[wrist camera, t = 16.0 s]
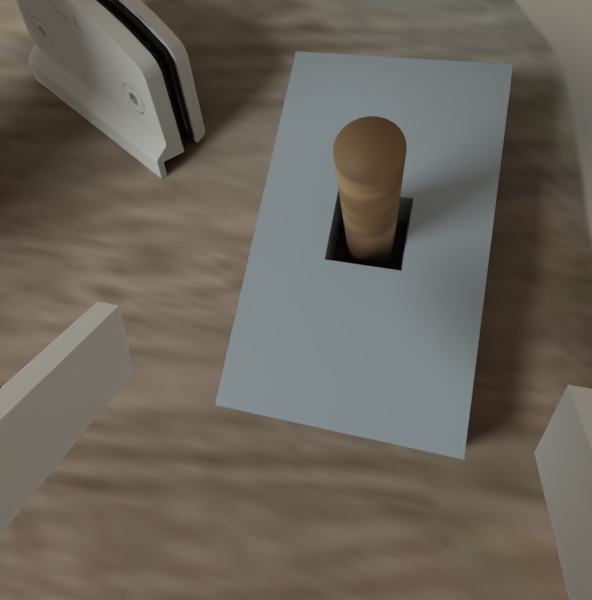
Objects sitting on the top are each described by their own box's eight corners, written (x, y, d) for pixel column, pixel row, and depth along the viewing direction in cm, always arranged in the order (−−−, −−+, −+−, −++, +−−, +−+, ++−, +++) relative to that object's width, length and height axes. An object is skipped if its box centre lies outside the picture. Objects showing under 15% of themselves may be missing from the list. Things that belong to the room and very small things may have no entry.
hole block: (450, 451, 28) (463, 459, 24) (234, 404, 30) (215, 404, 26) (495, 104, 32) (513, 64, 28) (303, 90, 35) (296, 51, 31)
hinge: (33, 77, 39) (-32, -57, 30) (79, 54, 41) (30, -79, 32) (165, 182, 35) (133, 61, 26) (210, 150, 37) (194, 27, 28)
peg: (344, 268, 31) (327, 177, 19) (352, 228, 32) (340, 113, 19) (388, 275, 31) (400, 185, 18) (395, 233, 31) (411, 119, 19)
